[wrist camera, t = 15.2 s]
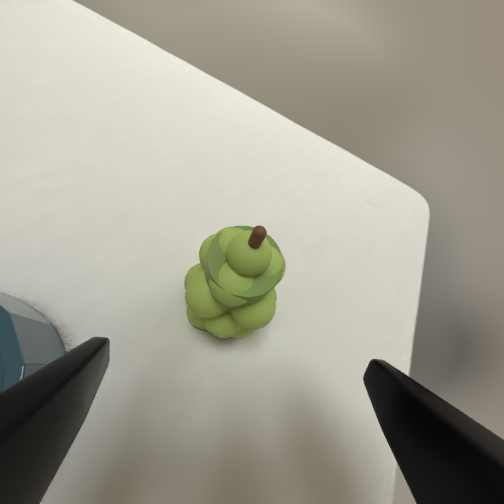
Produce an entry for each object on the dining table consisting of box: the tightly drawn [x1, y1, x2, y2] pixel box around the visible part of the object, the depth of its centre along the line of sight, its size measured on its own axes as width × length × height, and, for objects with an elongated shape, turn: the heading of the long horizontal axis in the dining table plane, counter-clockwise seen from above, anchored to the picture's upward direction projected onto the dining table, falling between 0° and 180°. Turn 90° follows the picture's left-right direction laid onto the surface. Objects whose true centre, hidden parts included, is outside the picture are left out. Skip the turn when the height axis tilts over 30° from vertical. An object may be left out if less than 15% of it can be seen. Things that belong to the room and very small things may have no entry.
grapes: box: [184, 226, 285, 338], centre depth 15 cm, size 7×7×12 cm
